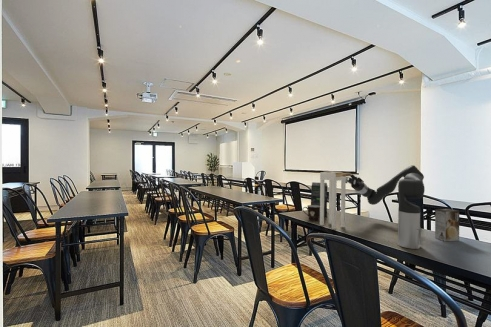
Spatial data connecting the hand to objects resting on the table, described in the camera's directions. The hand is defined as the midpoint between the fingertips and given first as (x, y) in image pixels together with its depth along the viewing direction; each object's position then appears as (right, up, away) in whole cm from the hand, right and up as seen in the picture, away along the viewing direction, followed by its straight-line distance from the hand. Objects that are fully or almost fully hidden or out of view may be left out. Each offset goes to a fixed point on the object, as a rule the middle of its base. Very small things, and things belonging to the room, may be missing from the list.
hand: (345, 174), depth 169 cm
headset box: (-9, -32, +30) cm, 45 cm away
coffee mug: (-20, -33, +11) cm, 40 cm away
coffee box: (+43, -34, -31) cm, 63 cm away
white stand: (-11, -33, -6) cm, 35 cm away
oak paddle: (-6, -1, -4) cm, 7 cm away
